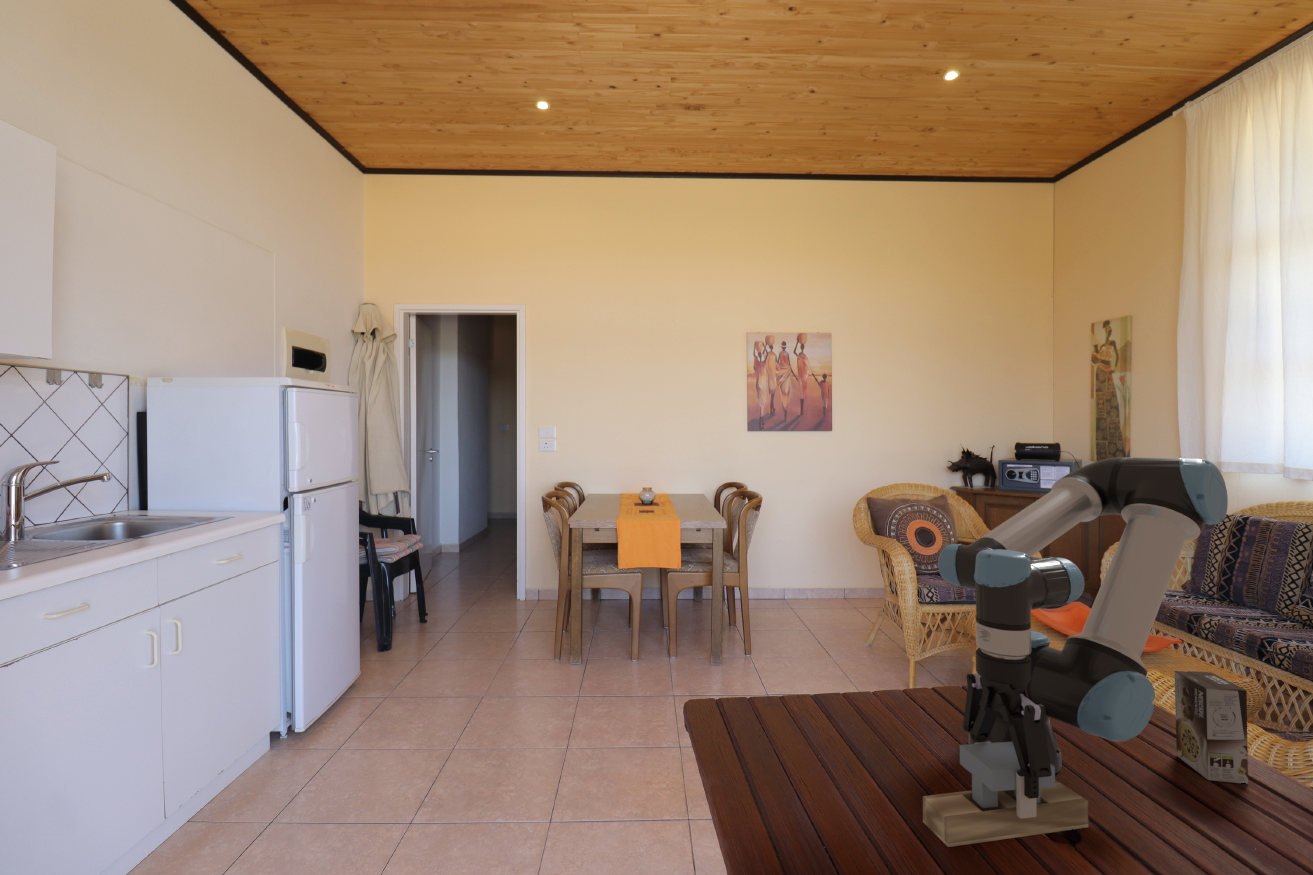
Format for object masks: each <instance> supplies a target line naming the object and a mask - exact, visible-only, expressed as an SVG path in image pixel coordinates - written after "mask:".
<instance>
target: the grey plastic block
mask: <svg viewBox="0 0 1313 875" xmlns="http://www.w3.org/2000/svg"><path fill="white" fill-rule="evenodd" d="M959 764H960V766H962V767H963V769H965V770H966V771H968V772H969V773H970V774H971V790H972V799H973V800H974V801H976V802H977V803H978V804H979V805H980V806H981V807H982V808H988V807H998V791H1005V790H1014V796H1015V797H1016V771H1021V769H1020V766H1019V762H1018V759H1017V755H1016V752H1015V748H1014V745H1013V742H998V743H982V744H969V743H968V744H967V743H966V744H959ZM1028 766H1030V765H1029V764H1028ZM1050 766H1051V773H1052V775H1051V776H1049V777H1040V778H1039V796H1038V798H1036V804H1040V788H1048V787H1055V780H1056V773H1055V766H1053V765H1052V764H1050Z"/></svg>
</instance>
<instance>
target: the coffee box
mask: <svg viewBox="0 0 1313 875" xmlns="http://www.w3.org/2000/svg"><path fill="white" fill-rule="evenodd" d="M1247 693H1248V690H1247V689H1245V688H1243V687H1241V686H1239V685H1238V684H1235V683H1233V682H1231V681H1229V680H1227V679H1226V678H1223V677H1221V676H1219V675H1217V674H1216V673H1213V672H1210V671H1181V670H1174V705H1175V707H1174V709H1175V736H1176V737H1175V738H1176V739H1175V741H1176V742H1175V743H1176V757H1178V758H1179V759H1180V760H1181V761H1183V762H1184V763H1185V764H1186V765H1188V766H1189V767H1190V768H1192V769H1193V770H1195V772H1197V773H1198V774H1200V775H1201V776H1202V777H1203V778H1205V779H1206V780H1208V781H1212V782H1213V781H1214V782H1223V783H1224V782H1225V783H1233V784H1241V783H1246V784H1245V785H1248V783H1249V768H1248V767H1249V762H1248V761H1249V758H1248V757H1249V756H1248V755H1249V752H1248V701H1247V700H1248V695H1247Z"/></svg>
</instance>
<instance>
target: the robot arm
mask: <svg viewBox="0 0 1313 875" xmlns="http://www.w3.org/2000/svg"><path fill="white" fill-rule="evenodd" d="M1226 486H1227V485H1226V482H1225V478H1224V476H1223V474H1222V472H1221V470H1220V469H1219V468H1218V466H1216V465H1215V463H1213V462H1211V461H1210V460H1209V459H1208V460H1207V459H1203V458H1189V457H1188V458H1187V457H1186V456H1180V458H1176V457H1175V458H1172V457H1136V456H1135V457H1130V456H1129V457H1128V456H1116V457H1109V458H1105V459H1100V460H1097V461H1094V462H1092V463H1089V464H1086V465H1084V466H1081V467H1079V468H1077V469H1075V470H1073V471H1071V472H1068V474H1066V475H1064V476H1062V477H1060V478H1059V479H1058V480H1057V481H1055V482H1054V483H1053V484H1052V486H1051V489H1050V491H1049V492H1047V493H1046V494H1045V495H1043V496H1041V497H1040V498H1039V499H1037V500H1036V501H1034V502H1032V503H1031V504H1029V505H1028V506H1026V507H1025V508H1023V509H1022V510H1021V511H1019V512H1017V513H1016V514H1014V515H1013V516H1011V517H1010V518H1008V519H1007V520H1005V521H1004V522H1002V523H1001V524H999V525H997V526H996V527H994V528H993V529H991V530H990V531H988V532H987V533H985V534H983V535H982V536H981V537H979V538H978V539H977V540H974V541H973V542H971V543H970V544H968V545H965V544H963V543H958V544H955V543H950V544H947V545H946V546H944V547H943V549H941V552H940V553H939V555H938V558H937V569H938V573H939V575H940V576H941V578H942V579H943V580H944V581H945V582H947V583H948V584H952V585H955V586H959V587H960V588H962V589H969V590H973V591H975V594H974V595H975V644H976V646H977V649H976V650H975V671H976V673H967V674H966V684H967V686H966V687H967V690H966V691H967V692H966V698H965V707H964V715H963V723H962V729H963V730H964V731H965V732H966V733H967V732H968V744H982V743H998V742H1013V745H1014V748H1015V752H1016V755H1017V759H1018V762H1019V766H1020V769H1021V771H1016V798H1017V816H1018V817H1019V818H1020V819H1023V818H1030V817H1037V805H1036V798H1038V796H1039V778H1040V777H1049V776H1051V775H1052V773H1051V766H1050V764H1052V765H1053V766H1055V774H1057V773H1059V772H1060V771H1061V770H1062V762H1063V761H1062V760H1063V759H1062V752H1061V748H1060V747H1059V745H1058V741H1057V737H1056V735H1055V732H1054V730H1053V726H1052V724H1051V721H1050V720H1051V719H1054V720H1055V721H1059V722H1061V723H1063V724H1066V725H1069V726H1071V727H1074V728H1076V729H1078V730H1081V731H1083V732H1084V733H1086V734H1088V735H1090V736H1094V737H1100V738H1102V739H1105V740H1107V741H1110V742H1115V743H1117V742H1118V743H1123V742H1127V741H1129V740H1133V739H1134V738H1136V737H1138V735H1140V734H1141V733H1142V732H1143V731H1144V729H1146V727H1147V725H1148V724H1149V722H1150V719H1151V718H1152V716H1153V713H1154V709H1155V703H1154V700H1155V699H1156V691H1155V688H1154V686H1153V683H1152V682H1151V681H1150V679H1149V678H1147V675H1148V670H1147V667H1146V666H1145V664H1144V662H1143V660H1141V656H1142V654H1143V651H1144V649H1145V647H1146V644H1147V641H1148V639H1149V636H1150V634H1151V631H1152V628H1153V626H1154V622H1155V620H1156V618H1157V616H1158V613H1159V610H1160V607H1161V605H1162V603H1163V599H1164V598H1165V594H1166V592H1167V589H1168V587H1169V585H1170V581H1171V580H1172V576H1173V575H1174V574H1173V573H1174V571H1175V569H1176V566H1177V564H1178V560H1179V559H1180V556H1181V552H1182V550H1183V548H1184V545H1185V543H1186V542H1189V541H1193V540H1196V539H1198V538H1199V537H1200V535H1201V532H1202V530H1203V527H1204V525H1209V526H1212V525H1218V524H1220V523H1222V522H1223V521H1224V519H1225V518H1226V515H1227V512H1228V505H1229V503H1228V502H1229V501H1228V500H1229V499H1228V497H1229V496H1228V490H1227V487H1226ZM1109 515H1110V516H1112V515H1113V516H1120V517H1121V518H1122V520H1123V521H1124V522H1125V523H1126V525H1125V527H1124V530H1123V533H1122V534H1121V537H1120V539H1119V541H1118V544H1117V546H1116V549H1115V550H1114V551H1115V552H1114V554H1113V556H1112V558H1111V561H1110V563H1109V565H1108V568H1107V570H1106V572H1105V575H1104V577H1103V580H1102V583H1101V584H1100V587H1099V590H1098V592H1097V594H1096V597H1095V598H1094V601H1093V604H1092V606H1091V609H1090V611H1089V614H1088V615H1087V618H1086V620H1085V622H1084V625H1083V627H1082V630H1081V632H1080V633H1078V634H1074V635H1069V636H1067V638H1066V641H1065V642H1064V645H1063V647H1062V649H1058V648H1057V649H1056V648H1054V647H1051V646H1050V644H1051V643H1050V642H1051V641H1050V640H1049V637H1048V636H1047V635H1046V634H1044V633H1042V632H1038V631H1034V630H1033V631H1032V626H1031V624H1032V621H1031V617H1032V613H1031V612H1032V610H1038V609H1044V608H1050V607H1060V606H1061V607H1062V606H1064V605H1066V604H1069V603H1072V602H1075V601H1077V600H1078V599H1079V598H1080V597H1081V596H1082V594H1083V592H1084V590H1085V578H1084V575H1083V573H1082V571H1081V570H1080V568H1079V567H1078V565H1076V564H1075V563H1074V562H1073V561H1072V560H1069V559H1067V558H1064V557H1059V556H1058V557H1053V556H1047V557H1043V558H1041V557H1035V555H1036V554H1037V553H1039V552H1040V551H1042V550H1043V549H1044V548H1045V547H1047V546H1048V545H1050V544H1051V543H1052V542H1055V540H1057V539H1058V538H1059V537H1061V536H1063V535H1065V533H1067V532H1069V531H1070V530H1071V529H1073V528H1074V527H1076V526H1077V525H1078V524H1079V523H1088V522H1091V521H1093V520H1095V519H1096V518H1098V517H1101V516H1109ZM1033 556H1034V557H1033ZM1050 718H1051V719H1050ZM1028 764H1029V765H1030V766H1028Z"/></svg>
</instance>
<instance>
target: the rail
mask: <svg viewBox="0 0 1313 875" xmlns="http://www.w3.org/2000/svg"><path fill="white" fill-rule="evenodd" d="M1036 805H1037V817H1030V818H1023V819H1020V818H1019V817H1018V816H1017V798H1016V797H1015V796H1014V790H1005V791H998V807H988V808H982V807H981V806H980V805H979V804H978V803H977V802H976V801H974V800H973V799H972V789H970V790H963V791H962V790H961V791H955V792H946V793H939V794H931V795H930V794H929V795H923V796H922V823H924V825H925V826H926V827H927V828H928V829H929V830H930V831H932V832H933V834H934V835H935V836H936V837H937V838H939V840H941V841H942V842H943V844H944V845H945V846H947V848H951V847H957V846H964V845H972V844H981V843H986V842H994V841H1001V840H1007V839H1009V840H1010V839H1014V838H1022V837H1029V836H1035V835H1043V834H1050V833H1058V832H1064V831H1065V832H1066V831H1072V829H1073V830H1078V829H1086V828H1089V800H1087V799H1086V798H1084V797H1083V796H1081V795H1079V794H1078V793H1077V792H1075V791H1073V789H1071V788H1069V787H1067V786H1066V785H1064V784H1063V783H1061V782H1059V780H1056V779H1055V787H1048V788H1040V804H1036Z"/></svg>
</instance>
